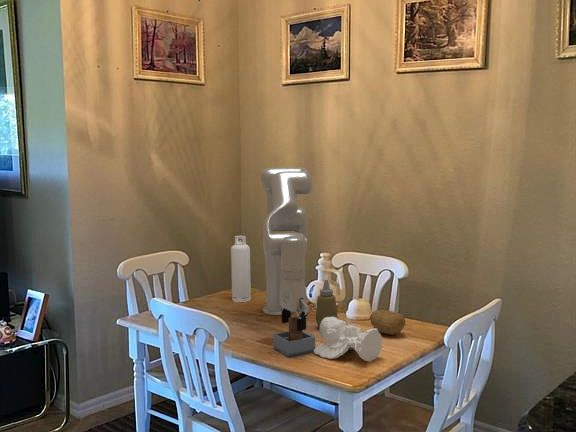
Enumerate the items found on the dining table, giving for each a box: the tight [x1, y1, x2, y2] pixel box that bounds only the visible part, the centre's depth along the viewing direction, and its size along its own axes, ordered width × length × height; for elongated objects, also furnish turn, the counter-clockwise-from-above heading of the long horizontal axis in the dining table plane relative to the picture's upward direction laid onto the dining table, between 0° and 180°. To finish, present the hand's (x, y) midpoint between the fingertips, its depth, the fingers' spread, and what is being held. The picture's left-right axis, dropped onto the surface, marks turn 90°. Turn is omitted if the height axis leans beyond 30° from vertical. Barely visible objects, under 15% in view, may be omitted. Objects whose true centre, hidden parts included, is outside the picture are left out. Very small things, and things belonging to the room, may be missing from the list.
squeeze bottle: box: [315, 279, 339, 330], centre depth 219 cm, size 8×8×18 cm
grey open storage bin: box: [272, 330, 316, 359], centre depth 197 cm, size 10×10×5 cm
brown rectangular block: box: [288, 315, 303, 341], centre depth 197 cm, size 2×4×10 cm, turn 120°
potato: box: [369, 309, 406, 335], centre depth 214 cm, size 10×14×8 cm
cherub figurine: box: [313, 317, 383, 363], centre depth 191 cm, size 13×12×20 cm
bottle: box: [230, 235, 252, 303], centre depth 260 cm, size 8×8×28 cm
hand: (293, 326), depth 197 cm, fingers open, 9 cm apart
